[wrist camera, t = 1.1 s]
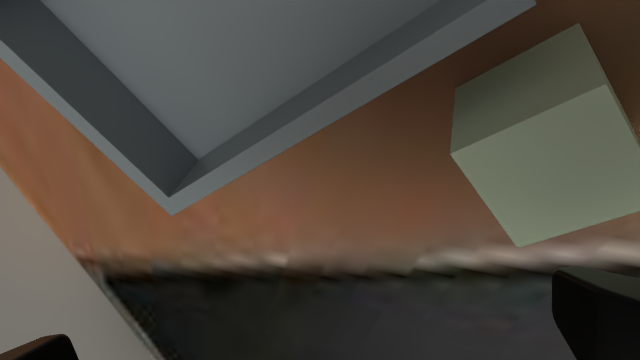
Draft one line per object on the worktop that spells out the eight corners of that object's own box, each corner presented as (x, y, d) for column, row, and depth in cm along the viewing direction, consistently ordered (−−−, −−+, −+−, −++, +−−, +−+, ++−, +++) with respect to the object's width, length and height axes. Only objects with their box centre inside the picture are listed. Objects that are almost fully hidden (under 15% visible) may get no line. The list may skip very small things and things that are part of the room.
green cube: (578, 21, 16) (606, 84, 12) (630, 123, 17) (667, 202, 14) (455, 87, 18) (449, 153, 15) (510, 170, 20) (517, 248, 16)
